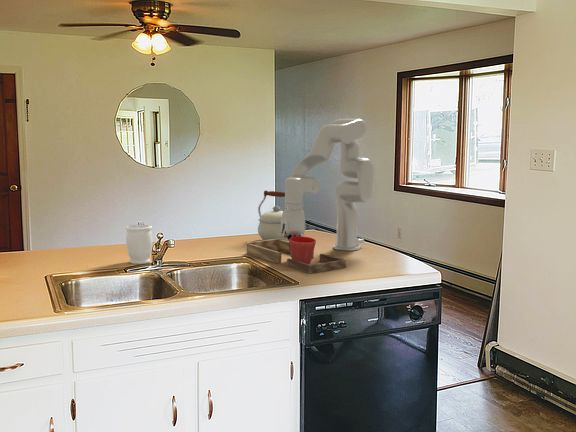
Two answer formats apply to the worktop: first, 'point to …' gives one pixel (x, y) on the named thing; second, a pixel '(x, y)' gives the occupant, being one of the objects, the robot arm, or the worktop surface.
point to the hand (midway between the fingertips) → (293, 250)
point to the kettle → (271, 220)
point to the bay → (328, 265)
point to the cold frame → (268, 249)
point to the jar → (139, 243)
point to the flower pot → (302, 248)
